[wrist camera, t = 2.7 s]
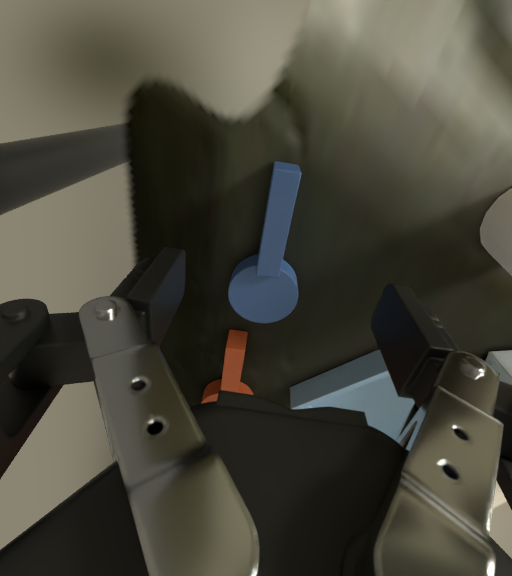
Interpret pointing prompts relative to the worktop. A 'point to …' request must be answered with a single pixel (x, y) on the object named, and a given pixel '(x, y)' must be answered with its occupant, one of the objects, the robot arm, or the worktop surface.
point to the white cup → (499, 231)
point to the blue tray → (357, 393)
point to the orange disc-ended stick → (230, 368)
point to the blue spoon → (269, 257)
